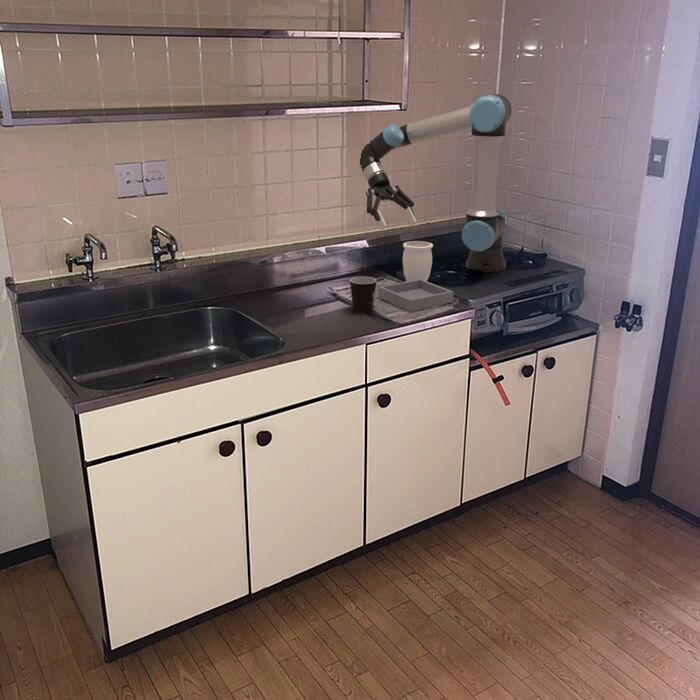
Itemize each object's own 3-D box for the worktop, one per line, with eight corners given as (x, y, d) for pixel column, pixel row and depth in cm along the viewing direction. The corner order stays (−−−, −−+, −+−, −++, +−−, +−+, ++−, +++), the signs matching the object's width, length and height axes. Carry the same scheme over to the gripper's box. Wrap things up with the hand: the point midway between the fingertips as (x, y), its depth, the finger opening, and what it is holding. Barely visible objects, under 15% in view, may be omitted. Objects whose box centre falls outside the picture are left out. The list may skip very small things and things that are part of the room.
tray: (420, 289, 272) (420, 279, 270) (452, 303, 258) (453, 291, 256) (378, 298, 263) (378, 286, 261) (410, 312, 249) (410, 300, 247)
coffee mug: (365, 315, 246) (366, 285, 242) (344, 310, 250) (344, 280, 247) (386, 306, 254) (387, 277, 251) (365, 301, 259) (365, 273, 255)
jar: (434, 282, 280) (436, 242, 275) (425, 290, 272) (427, 248, 266) (407, 279, 285) (408, 239, 279) (397, 286, 276) (398, 245, 270)
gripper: (399, 181, 295) (421, 227, 289) (344, 186, 282) (366, 235, 276) (408, 169, 289) (430, 216, 283) (352, 174, 276) (375, 223, 270)
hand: (399, 225), depth 279 cm, fingers open, 13 cm apart
